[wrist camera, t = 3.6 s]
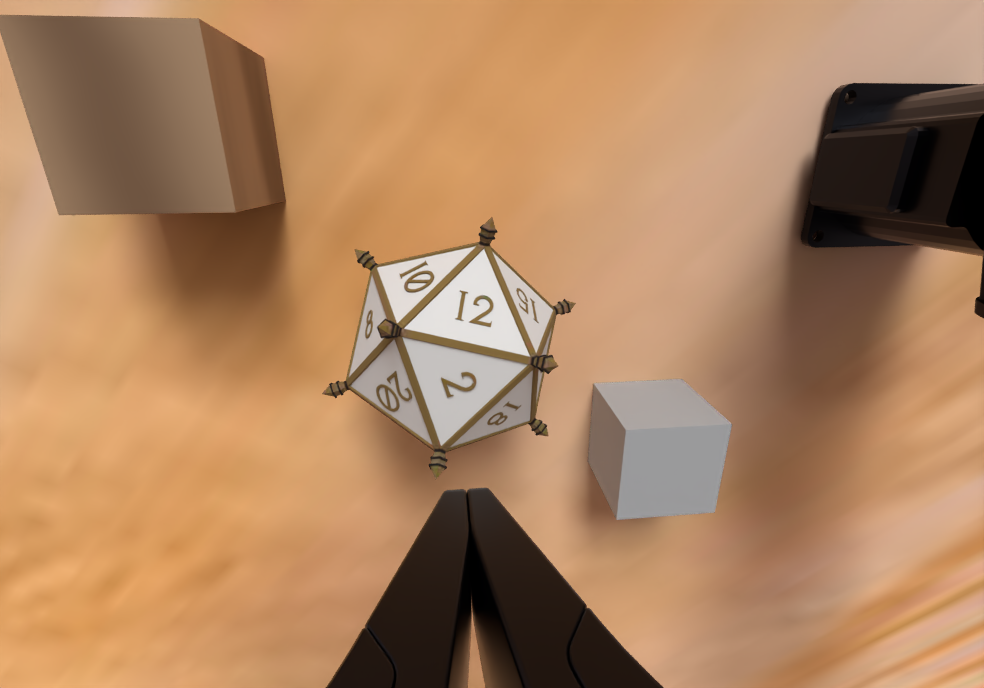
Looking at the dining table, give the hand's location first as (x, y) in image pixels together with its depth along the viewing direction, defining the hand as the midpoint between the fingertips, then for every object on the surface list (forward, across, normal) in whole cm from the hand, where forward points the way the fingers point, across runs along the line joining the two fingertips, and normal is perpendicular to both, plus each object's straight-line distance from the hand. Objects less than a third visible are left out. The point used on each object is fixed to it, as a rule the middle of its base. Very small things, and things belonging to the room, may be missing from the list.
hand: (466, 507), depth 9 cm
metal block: (+13, +9, -7) cm, 18 cm away
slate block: (+13, -9, +6) cm, 17 cm away
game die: (+13, 0, 0) cm, 13 cm away
